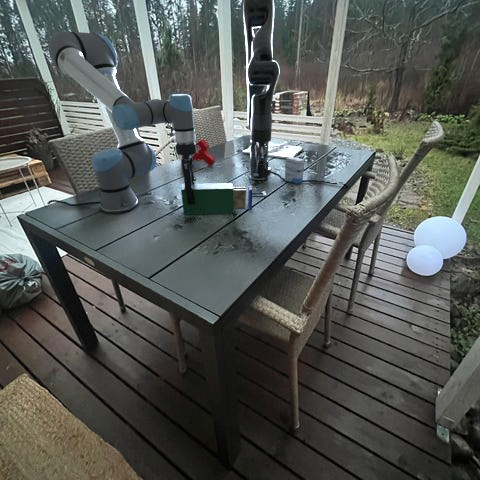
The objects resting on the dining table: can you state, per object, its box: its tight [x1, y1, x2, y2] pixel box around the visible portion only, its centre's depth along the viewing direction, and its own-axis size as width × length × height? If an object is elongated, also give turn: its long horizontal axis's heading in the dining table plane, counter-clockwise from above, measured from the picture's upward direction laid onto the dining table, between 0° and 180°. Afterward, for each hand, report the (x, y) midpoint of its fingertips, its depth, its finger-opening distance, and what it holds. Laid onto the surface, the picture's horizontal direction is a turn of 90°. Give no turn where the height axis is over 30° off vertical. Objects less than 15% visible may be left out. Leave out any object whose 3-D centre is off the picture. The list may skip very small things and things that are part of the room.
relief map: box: [242, 139, 304, 160], centre depth 192 cm, size 27×35×5 cm
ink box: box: [284, 156, 306, 185], centre depth 140 cm, size 8×5×12 cm, turn 47°
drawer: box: [233, 185, 268, 211], centre depth 112 cm, size 25×5×9 cm, turn 94°
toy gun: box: [181, 138, 216, 167], centre depth 167 cm, size 18×4×15 cm
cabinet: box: [180, 182, 234, 216], centre depth 112 cm, size 20×6×11 cm, turn 94°
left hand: (192, 200), depth 111 cm, fingers closed on cabinet, 6 cm apart
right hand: (259, 173), depth 107 cm, fingers closed
